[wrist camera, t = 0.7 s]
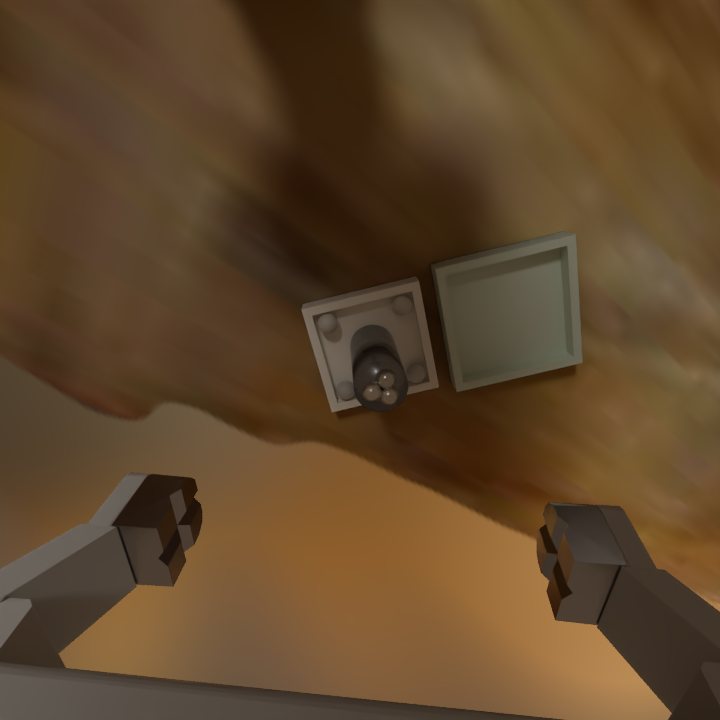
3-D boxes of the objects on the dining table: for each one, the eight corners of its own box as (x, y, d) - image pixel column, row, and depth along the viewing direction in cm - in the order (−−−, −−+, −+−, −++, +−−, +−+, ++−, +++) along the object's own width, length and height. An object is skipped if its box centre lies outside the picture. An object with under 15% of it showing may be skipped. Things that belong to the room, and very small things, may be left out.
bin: (430, 264, 55) (435, 269, 52) (563, 231, 54) (575, 234, 51) (451, 382, 61) (456, 392, 58) (571, 354, 60) (582, 362, 57)
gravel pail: (345, 330, 56) (348, 375, 44) (389, 320, 56) (404, 361, 44) (355, 370, 58) (361, 423, 46) (398, 360, 58) (415, 411, 46)
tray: (302, 303, 56) (300, 311, 53) (415, 276, 55) (420, 282, 52) (331, 403, 61) (331, 415, 58) (435, 379, 61) (440, 390, 57)
